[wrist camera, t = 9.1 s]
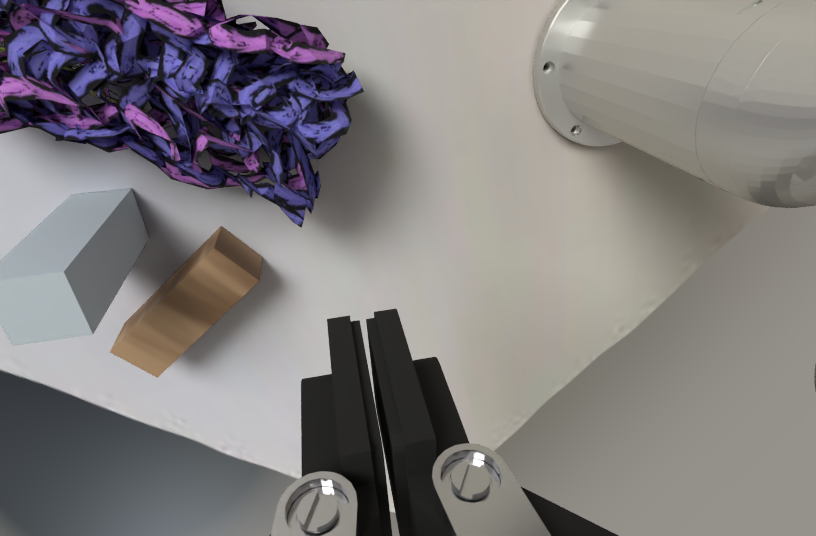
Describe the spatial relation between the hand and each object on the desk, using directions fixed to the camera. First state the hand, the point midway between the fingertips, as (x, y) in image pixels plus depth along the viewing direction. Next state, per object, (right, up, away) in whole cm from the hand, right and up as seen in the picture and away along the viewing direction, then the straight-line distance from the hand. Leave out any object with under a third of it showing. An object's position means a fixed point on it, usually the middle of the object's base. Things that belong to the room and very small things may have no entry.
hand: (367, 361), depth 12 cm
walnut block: (-12, +3, +25) cm, 28 cm away
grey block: (-21, +6, +24) cm, 32 cm away
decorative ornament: (-18, +16, +19) cm, 31 cm away
